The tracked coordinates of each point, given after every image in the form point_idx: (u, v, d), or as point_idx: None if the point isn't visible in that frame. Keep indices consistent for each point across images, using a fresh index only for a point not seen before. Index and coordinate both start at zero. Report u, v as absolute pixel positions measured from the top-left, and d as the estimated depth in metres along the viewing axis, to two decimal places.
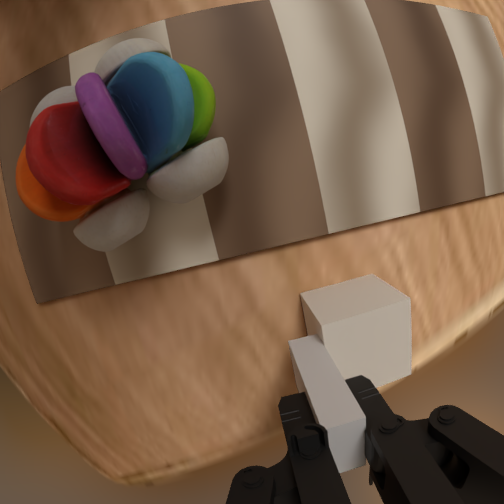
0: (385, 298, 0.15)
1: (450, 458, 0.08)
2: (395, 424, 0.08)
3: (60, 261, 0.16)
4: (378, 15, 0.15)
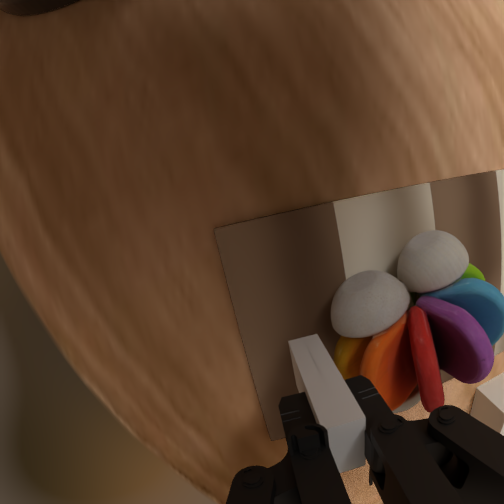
0: None
1: (450, 458, 0.08)
2: (395, 424, 0.08)
3: None
4: None
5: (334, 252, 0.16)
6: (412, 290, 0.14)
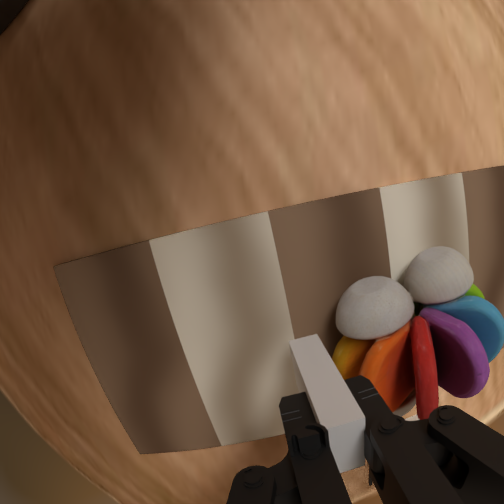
0: None
1: (449, 458, 0.08)
2: (394, 424, 0.08)
3: (167, 431, 0.18)
4: (471, 195, 0.16)
5: (155, 289, 0.16)
6: (417, 300, 0.14)
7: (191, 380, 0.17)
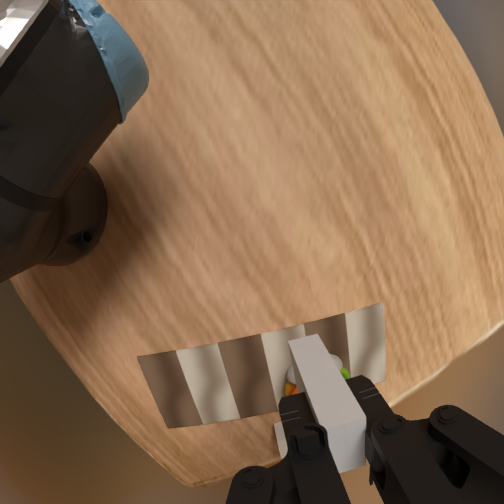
0: None
1: (450, 458, 0.08)
2: (395, 424, 0.08)
3: (180, 417, 0.45)
4: (309, 332, 0.44)
5: (178, 366, 0.43)
6: None
7: (191, 397, 0.45)
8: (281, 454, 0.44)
